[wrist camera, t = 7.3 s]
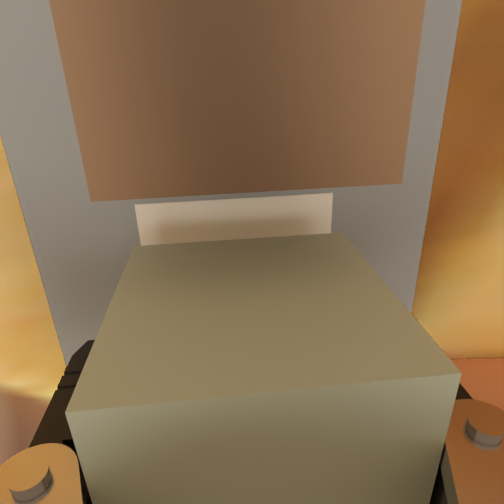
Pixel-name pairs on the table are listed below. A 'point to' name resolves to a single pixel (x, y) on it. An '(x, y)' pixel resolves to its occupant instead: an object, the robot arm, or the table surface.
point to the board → (192, 207)
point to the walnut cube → (238, 93)
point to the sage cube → (260, 380)
